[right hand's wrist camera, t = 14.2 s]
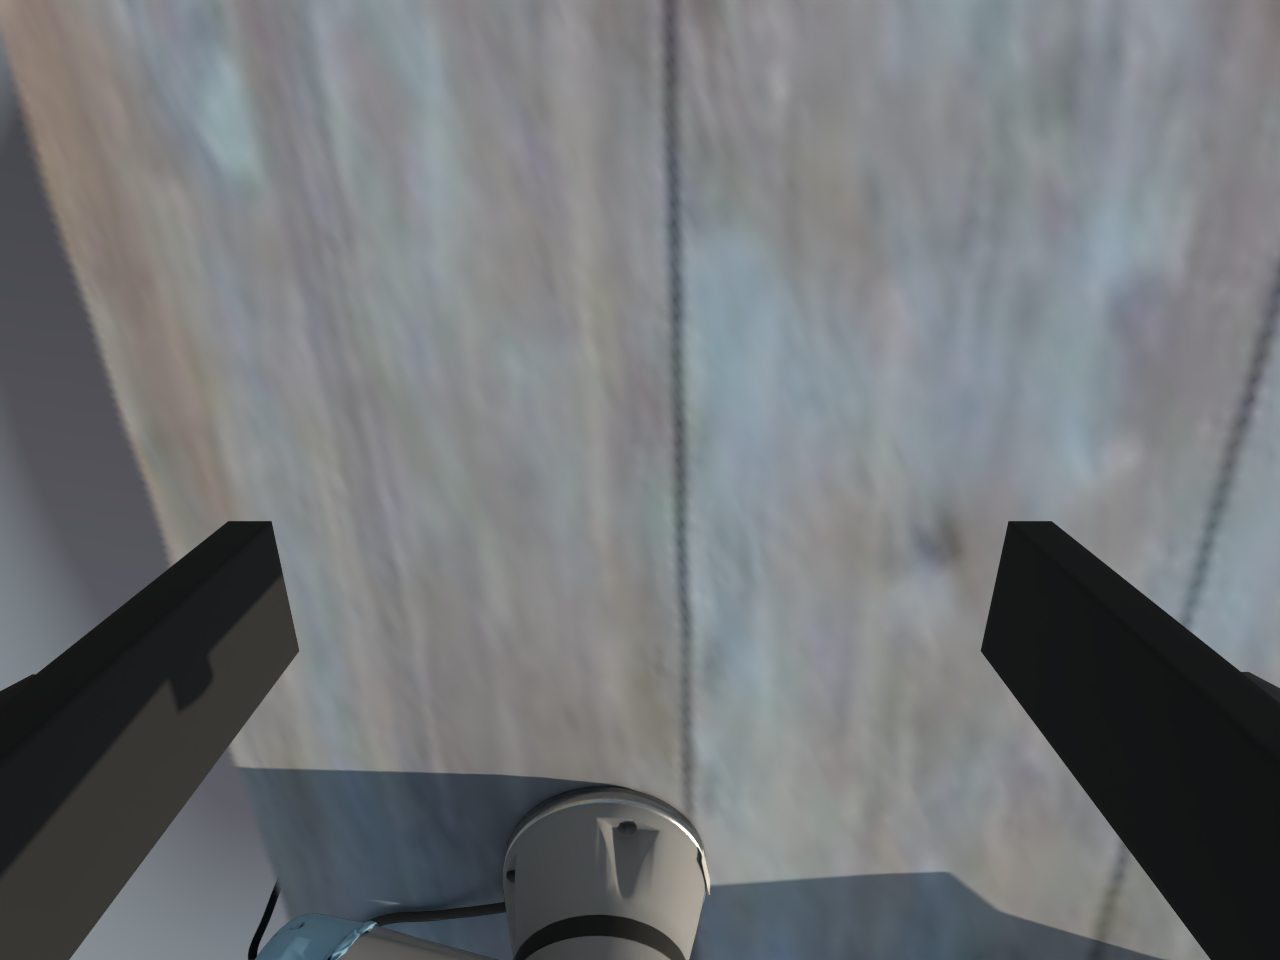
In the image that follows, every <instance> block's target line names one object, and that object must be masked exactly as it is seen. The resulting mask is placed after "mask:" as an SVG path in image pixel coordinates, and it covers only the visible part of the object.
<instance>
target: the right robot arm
mask: <svg viewBox="0 0 1280 960" xmlns="http://www.w3.org/2000/svg"><path fill="white" fill-rule="evenodd" d="M298 652H299V648H298V643H297V638H296V634H295V629H294V624H293V620H292V615H291V610H290V606H289V601H288V596H287V592H286V587H285V582H284V578H283V573H282V568H281V564H280V559H279V554H278V550H277V545H276V540H275V536H274V531H273V526H272V522H271V521H228V522H227V523H226V524H224V525H223V526H222V527H221V528H219V529H218V530H217V531H216V532H214V533H213V534H212V535H211V536H209V537H208V538H207V539H206V540H204V541H203V542H202V543H201V544H199V545H198V546H197V547H196V548H194V549H193V550H192V551H190V552H189V553H188V554H187V555H185V556H184V557H183V558H182V559H180V560H179V561H178V562H177V563H175V564H174V565H173V566H172V567H170V568H169V569H168V570H167V571H165V572H164V573H163V574H162V575H160V576H159V577H158V578H157V579H155V580H154V581H153V582H152V583H150V584H149V585H148V586H147V587H145V588H144V589H143V590H142V591H140V592H139V593H138V594H136V595H135V596H134V597H133V598H131V599H130V600H129V601H128V602H126V603H125V604H124V605H123V606H122V607H120V608H119V609H118V610H116V611H115V612H114V613H113V614H111V615H110V616H109V617H108V618H106V619H105V620H104V621H103V622H101V623H100V624H99V625H98V626H96V627H95V628H94V629H93V630H91V631H90V632H89V633H88V634H86V635H85V636H84V637H82V638H81V639H80V640H79V641H77V642H76V643H75V644H74V645H72V646H71V647H70V648H69V649H67V650H66V651H65V652H64V653H62V654H61V655H60V656H59V657H57V658H56V659H55V660H54V661H52V662H51V663H50V664H49V665H47V666H46V667H45V668H44V669H42V670H41V671H40V672H39V673H37V674H36V675H31V676H29V677H27V678H25V679H23V680H21V681H19V682H17V683H15V684H13V685H11V686H10V687H8V688H6V689H4V690H2V691H0V960H69V959H70V958H71V957H72V955H73V954H74V953H75V951H76V950H77V949H78V947H79V946H80V945H81V943H82V942H83V940H84V939H85V938H86V936H87V935H88V934H89V932H90V931H91V930H92V928H93V927H94V926H95V924H96V923H97V922H98V920H99V919H100V918H101V916H102V915H103V914H104V912H105V911H106V910H107V908H108V907H109V906H110V904H111V903H112V902H113V900H114V899H115V898H116V896H117V895H118V893H119V892H120V891H121V889H122V888H123V887H124V885H125V884H126V883H127V881H128V880H129V879H130V877H131V876H132V875H133V873H134V872H135V871H136V869H137V868H138V867H139V865H140V864H141V863H142V861H143V860H144V859H145V857H146V856H147V855H148V853H149V852H150V851H151V849H152V848H153V847H154V845H155V844H156V842H157V841H158V840H159V838H160V837H161V836H162V834H163V833H164V832H165V830H166V829H167V828H168V826H169V825H170V824H171V822H172V821H173V820H174V818H175V817H176V816H177V814H178V813H179V812H180V810H181V809H182V808H183V806H184V805H185V804H186V802H187V801H188V800H189V798H190V797H191V796H192V794H193V793H194V792H195V790H196V789H197V787H198V786H199V785H200V783H201V782H202V781H203V779H204V778H205V777H206V775H207V774H208V773H209V771H210V770H211V769H212V767H213V766H214V765H215V763H216V762H217V761H218V759H219V758H220V757H221V755H222V754H223V753H224V751H225V750H226V749H227V747H228V746H229V745H230V743H231V742H232V741H233V739H234V738H235V736H236V735H237V734H238V732H239V731H240V730H241V728H242V727H243V726H244V724H245V723H246V722H247V720H248V719H249V718H250V716H251V715H252V714H253V712H254V711H255V710H256V708H257V707H258V706H259V704H260V703H261V702H262V700H263V699H264V698H265V696H266V695H267V694H268V692H269V691H270V690H271V688H272V687H273V685H274V684H275V683H276V681H277V680H278V679H279V677H280V676H281V675H282V673H283V672H284V671H285V669H286V668H287V667H288V665H289V664H290V663H291V661H292V660H293V659H294V657H295V656H296V655H297V653H298ZM981 652H982V653H983V655H984V656H985V657H986V659H987V660H988V661H989V663H990V664H991V665H992V667H993V668H994V669H995V671H996V672H997V673H998V675H999V676H1000V677H1001V679H1002V680H1003V681H1004V683H1005V684H1006V685H1007V687H1008V688H1009V690H1010V691H1011V692H1012V694H1013V695H1014V696H1015V698H1016V699H1017V700H1018V702H1019V703H1020V704H1021V706H1022V707H1023V708H1024V710H1025V711H1026V712H1027V714H1028V715H1029V716H1030V718H1031V719H1032V720H1033V722H1034V723H1035V724H1036V726H1037V727H1038V728H1039V730H1040V731H1041V732H1042V734H1043V735H1044V736H1045V738H1046V739H1047V741H1048V742H1049V743H1050V745H1051V746H1052V747H1053V749H1054V750H1055V751H1056V753H1057V754H1058V755H1059V757H1060V758H1061V759H1062V761H1063V762H1064V763H1065V765H1066V766H1067V767H1068V769H1069V770H1070V771H1071V773H1072V774H1073V775H1074V777H1075V778H1076V779H1077V781H1078V782H1079V783H1080V785H1081V786H1082V787H1083V789H1084V790H1085V792H1086V793H1087V794H1088V796H1089V797H1090V798H1091V800H1092V801H1093V802H1094V804H1095V805H1096V806H1097V808H1098V809H1099V810H1100V812H1101V813H1102V814H1103V816H1104V817H1105V818H1106V820H1107V821H1108V822H1109V824H1110V825H1111V826H1112V828H1113V829H1114V830H1115V832H1116V833H1117V834H1118V836H1119V837H1120V838H1121V840H1122V841H1123V843H1124V844H1125V845H1126V847H1127V848H1128V849H1129V851H1130V852H1131V853H1132V855H1133V856H1134V857H1135V859H1136V860H1137V861H1138V863H1139V864H1140V865H1141V867H1142V868H1143V869H1144V871H1145V872H1146V873H1147V875H1148V876H1149V877H1150V879H1151V880H1152V881H1153V883H1154V884H1155V885H1156V887H1157V888H1158V889H1159V891H1160V892H1161V894H1162V895H1163V896H1164V898H1165V899H1166V900H1167V902H1168V903H1169V904H1170V906H1171V907H1172V908H1173V910H1174V911H1175V912H1176V914H1177V915H1178V916H1179V918H1180V919H1181V920H1182V922H1183V923H1184V924H1185V926H1186V927H1187V928H1188V930H1189V931H1190V932H1191V934H1192V935H1193V936H1194V938H1195V939H1196V940H1197V942H1198V943H1199V945H1200V946H1201V947H1202V949H1203V950H1204V951H1205V953H1206V954H1207V955H1208V957H1209V958H1210V959H1211V960H1280V688H1278V687H1276V686H1274V685H1272V684H1271V683H1269V682H1267V681H1265V680H1263V679H1261V678H1259V677H1257V676H1255V675H1253V674H1251V673H1250V672H1240V671H1239V670H1238V669H1236V668H1235V667H1234V666H1233V665H1231V664H1230V663H1229V662H1228V661H1226V660H1225V659H1224V658H1223V657H1221V656H1220V655H1219V654H1218V653H1216V652H1215V651H1214V650H1213V649H1211V648H1210V647H1209V646H1208V645H1206V644H1205V643H1204V642H1203V641H1201V640H1200V639H1199V638H1198V637H1196V636H1195V635H1194V634H1192V633H1191V632H1190V631H1189V630H1187V629H1186V628H1185V627H1184V626H1182V625H1181V624H1180V623H1179V622H1177V621H1176V620H1175V619H1174V618H1172V617H1171V616H1170V615H1169V614H1167V613H1166V612H1165V611H1164V610H1162V609H1161V608H1160V607H1159V606H1157V605H1156V604H1155V603H1154V602H1152V601H1151V600H1150V599H1149V598H1147V597H1146V596H1145V595H1144V594H1142V593H1141V592H1140V591H1138V590H1137V589H1136V588H1135V587H1133V586H1132V585H1131V584H1130V583H1128V582H1127V581H1126V580H1125V579H1123V578H1122V577H1121V576H1120V575H1118V574H1117V573H1116V572H1115V571H1113V570H1112V569H1111V568H1110V567H1108V566H1107V565H1106V564H1105V563H1103V562H1102V561H1101V560H1100V559H1098V558H1097V557H1096V556H1095V555H1093V554H1092V553H1091V552H1090V551H1088V550H1087V549H1086V548H1084V547H1083V546H1082V545H1081V544H1079V543H1078V542H1077V541H1076V540H1074V539H1073V538H1072V537H1071V536H1069V535H1068V534H1067V533H1066V532H1064V531H1063V530H1062V529H1061V528H1059V527H1058V526H1057V525H1056V524H1054V523H1053V522H1052V521H1009V522H1008V526H1007V531H1006V536H1005V540H1004V545H1003V550H1002V554H1001V559H1000V564H999V568H998V573H997V578H996V582H995V587H994V592H993V596H992V601H991V606H990V610H989V615H988V620H987V624H986V629H985V634H984V638H983V643H982V648H981ZM706 885H707V888H708V892H709V893H710V879H709V874H708V869H707V865H706V858H705V851H704V846H703V843H702V841H701V838H700V836H699V834H698V832H697V831H696V829H695V828H694V826H693V825H692V824H691V823H690V821H689V820H688V819H687V818H686V817H685V816H684V815H683V814H681V813H680V812H679V811H678V810H676V809H675V808H674V807H672V806H670V805H669V804H667V803H665V802H664V801H662V800H660V799H658V798H655V797H653V796H650V795H647V794H644V793H641V792H637V791H633V790H628V789H622V788H612V787H597V788H586V789H580V790H575V791H570V792H567V793H564V794H561V795H558V796H556V797H553V798H551V799H549V800H547V801H545V802H543V803H542V804H540V805H538V806H537V807H535V808H534V809H533V810H532V811H530V812H529V813H528V814H527V815H526V816H525V817H524V818H523V819H522V820H521V821H520V822H519V824H518V825H517V826H516V828H515V829H514V831H513V833H512V835H511V837H510V840H509V843H508V846H507V851H506V856H505V861H504V866H503V892H504V899H505V902H502V903H495V904H488V905H480V906H472V907H464V908H455V909H446V910H437V911H423V912H401V913H393V914H387V915H383V916H379V917H376V918H374V919H371V920H370V921H367V922H365V923H362V922H356V921H351V920H346V919H341V918H336V917H331V916H327V915H322V914H307V915H303V916H300V917H297V918H295V919H293V920H292V921H290V922H288V923H287V924H286V925H284V926H283V927H282V928H281V929H280V930H279V931H278V932H277V933H276V934H275V935H274V936H273V937H272V938H271V939H270V941H269V942H268V943H267V944H266V945H265V947H264V948H263V949H262V951H261V952H260V953H259V954H258V956H257V952H258V947H259V944H260V941H261V939H262V936H263V934H264V932H265V930H266V928H267V925H268V923H269V921H270V918H271V916H272V913H273V910H274V907H275V905H276V902H277V899H278V896H279V894H280V892H279V888H278V885H277V882H276V883H275V886H274V888H273V891H272V893H271V896H270V898H269V901H268V904H267V907H266V909H265V912H264V914H263V917H262V919H261V922H260V924H259V926H258V928H257V930H256V933H255V935H254V937H253V939H252V942H251V944H250V947H249V951H248V960H497V959H493V958H490V957H486V956H482V955H478V954H475V953H471V952H467V951H464V950H460V949H456V948H453V947H449V946H445V945H441V944H438V943H434V942H430V941H427V940H423V939H420V938H416V937H413V936H409V935H406V934H403V933H399V932H396V931H393V930H389V929H386V928H382V927H379V926H383V925H386V924H391V923H399V922H422V921H436V920H445V919H454V918H464V917H472V916H481V915H488V914H496V913H503V912H507V919H508V925H509V932H510V938H511V945H512V951H513V960H689V958H690V954H691V950H692V946H693V942H694V938H695V934H696V930H697V926H698V922H699V917H700V913H701V908H702V906H703V903H704V900H705V895H706Z"/></svg>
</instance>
